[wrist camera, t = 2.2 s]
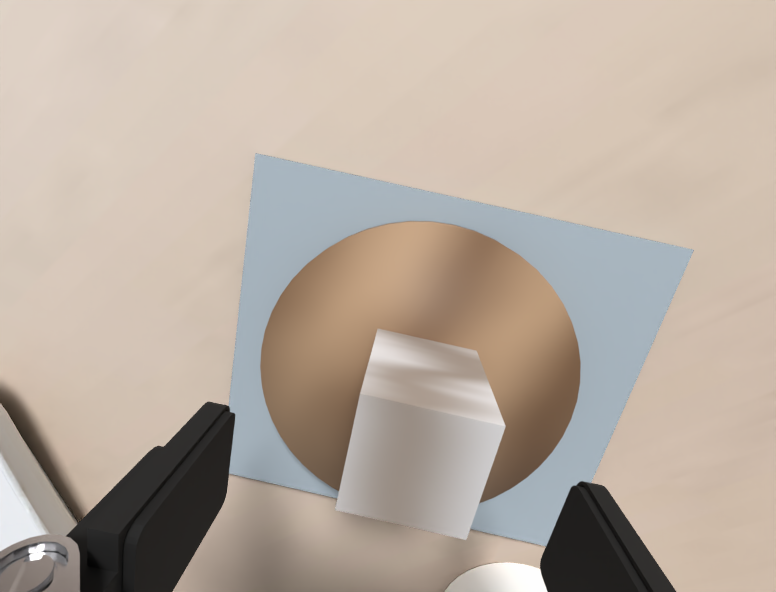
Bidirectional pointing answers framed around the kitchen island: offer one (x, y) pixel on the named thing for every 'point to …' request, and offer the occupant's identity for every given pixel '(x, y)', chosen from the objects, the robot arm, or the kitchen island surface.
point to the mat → (509, 227)
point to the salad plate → (26, 492)
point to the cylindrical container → (499, 579)
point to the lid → (420, 372)
